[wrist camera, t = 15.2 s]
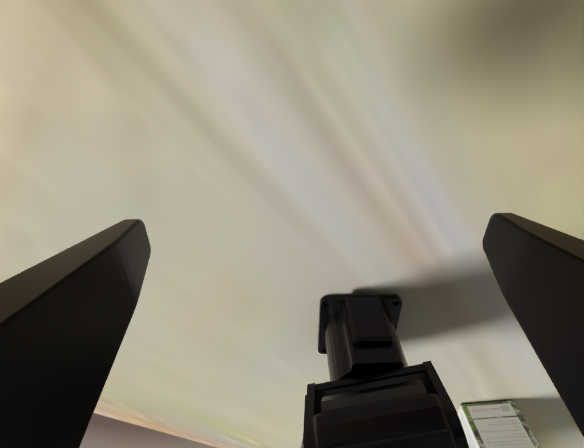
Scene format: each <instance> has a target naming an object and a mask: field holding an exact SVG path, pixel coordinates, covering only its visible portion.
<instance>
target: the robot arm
mask: <svg viewBox="0 0 584 448" xmlns="http://www.w3.org/2000/svg"><path fill="white" fill-rule="evenodd" d="M483 249H484V251H485V254H486V256H487V258H488V261H489V263H490V265H491V268H492V270H493V273H494V275H495V277H496V280H497V282H498V284H499V287H500V289H501V291H502V293H503V295H504V297H505V299H506V301H507V303H508V305H509V307H510V308H511V310H512V312H513V314H514V315H515V317H516V319H517V321H518V322H519V324H520V326H521V328H522V329H523V331H524V333H525V335H526V336H527V338H528V340H529V342H530V343H531V345H532V347H533V349H534V351H535V352H536V354H537V356H538V358H539V359H540V361H541V363H542V365H543V366H544V368H545V370H546V372H547V373H548V375H549V377H550V379H551V380H552V382H553V384H554V386H555V387H556V389H557V391H558V393H559V394H560V396H561V398H562V400H563V402H564V403H565V405H566V407H567V409H568V410H569V412H570V414H571V416H572V417H573V419H574V421H575V423H576V424H577V426H578V428H579V430H580V431H581V433H582V435H583V437H584V240H581V239H579V238H576V237H573V236H571V235H568V234H565V233H563V232H560V231H557V230H555V229H552V228H550V227H547V226H544V225H542V224H539V223H536V222H534V221H531V220H529V219H526V218H523V217H521V216H518V215H515V214H513V213H495V214H493V215H492V216H491V218H490V220H489V223H488V226H487V229H486V232H485V235H484V238H483ZM150 252H151V248H150V243H149V239H148V236H147V232H146V229H145V225H144V223H143V221H142V220H140V219H126V220H123V221H121V222H119V223H117V224H115V225H113V226H111V227H109V228H107V229H105V230H103V231H101V232H99V233H97V234H95V235H94V236H92V237H90V238H88V239H86V240H84V241H82V242H80V243H78V244H76V245H74V246H72V247H70V248H68V249H66V250H64V251H62V252H60V253H58V254H56V255H54V256H52V257H50V258H48V259H46V260H45V261H43V262H41V263H39V264H37V265H35V266H33V267H31V268H29V269H27V270H25V271H23V272H21V273H19V274H17V275H15V276H13V277H11V278H9V279H7V280H5V281H3V282H1V283H0V448H79V447H80V444H81V442H82V439H83V437H84V434H85V432H86V429H87V427H88V424H89V422H90V419H91V417H92V415H93V412H94V410H95V407H96V405H97V402H98V400H99V397H100V395H101V392H102V390H103V387H104V385H105V382H106V380H107V377H108V375H109V373H110V370H111V368H112V365H113V363H114V360H115V358H116V355H117V353H118V350H119V348H120V345H121V343H122V340H123V338H124V335H125V333H126V330H127V328H128V325H129V323H130V320H131V318H132V316H133V313H134V310H135V308H136V305H137V302H138V299H139V295H140V291H141V288H142V284H143V280H144V276H145V273H146V269H147V265H148V261H149V258H150ZM394 301H396V302H394ZM325 303H327V304H325ZM401 305H402V301H401V298H400V297H399V296H397V295H384V296H339V297H323V298H322V299H321V300H320V311H319V332H318V352H319V353H321V354H327V358H328V366H329V374H330V382H325V383H320V384H315V383H312V384H308V385H307V395H305V413H304V433H303V441H302V445H301V448H469V445H468V442H467V439H466V436H465V433H464V430H463V427H462V424H461V422H460V419H459V417H458V414H457V412H456V409H455V407H454V405H453V403H452V401H451V399H450V397H449V396H448V394H447V392H446V390H445V388H444V386H443V384H442V382H441V380H440V378H439V376H438V374H437V372H436V370H435V368H434V367H433V365H432V363H431V361H427V362H423V364H419V365H414V366H408V365H407V362H406V359H405V357H404V354H403V351H402V348H401V345H400V342H399V339H398V336H397V333H396V328H397V323H398V319H399V314H400V310H401Z"/></svg>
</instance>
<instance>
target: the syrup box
mask: <svg viewBox="0 0 584 448" xmlns="http://www.w3.org/2000/svg"><path fill="white" fill-rule="evenodd" d="M458 417H459V419H460V422H461V424H462V427H463V430H464V433H465V436H466V439H467V442H468V445H469V448H541V447H540V445H539V443H538V441H537V440H536V438H535V436H534V435H533V433H532V431H531V429H530V428H529V426H528V424H527V423H526V421H525V419H524V418H523V416H522V414H521V412H520V411H519V409H518V407H517V405H516V404H515V402H514V401H513V400H510V401H498V402H485V403H474V404H463V405H460V407H459V410H458Z"/></svg>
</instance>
